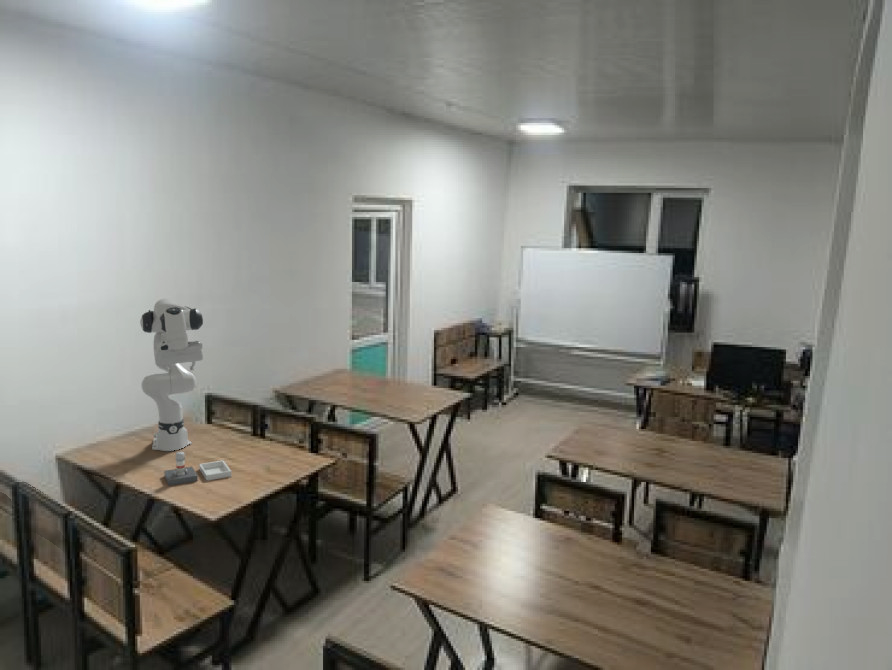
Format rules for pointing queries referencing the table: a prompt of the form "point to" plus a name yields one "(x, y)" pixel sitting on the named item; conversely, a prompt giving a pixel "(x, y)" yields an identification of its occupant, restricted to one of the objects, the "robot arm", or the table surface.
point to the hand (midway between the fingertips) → (180, 371)
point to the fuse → (180, 463)
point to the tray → (215, 470)
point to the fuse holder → (180, 476)
